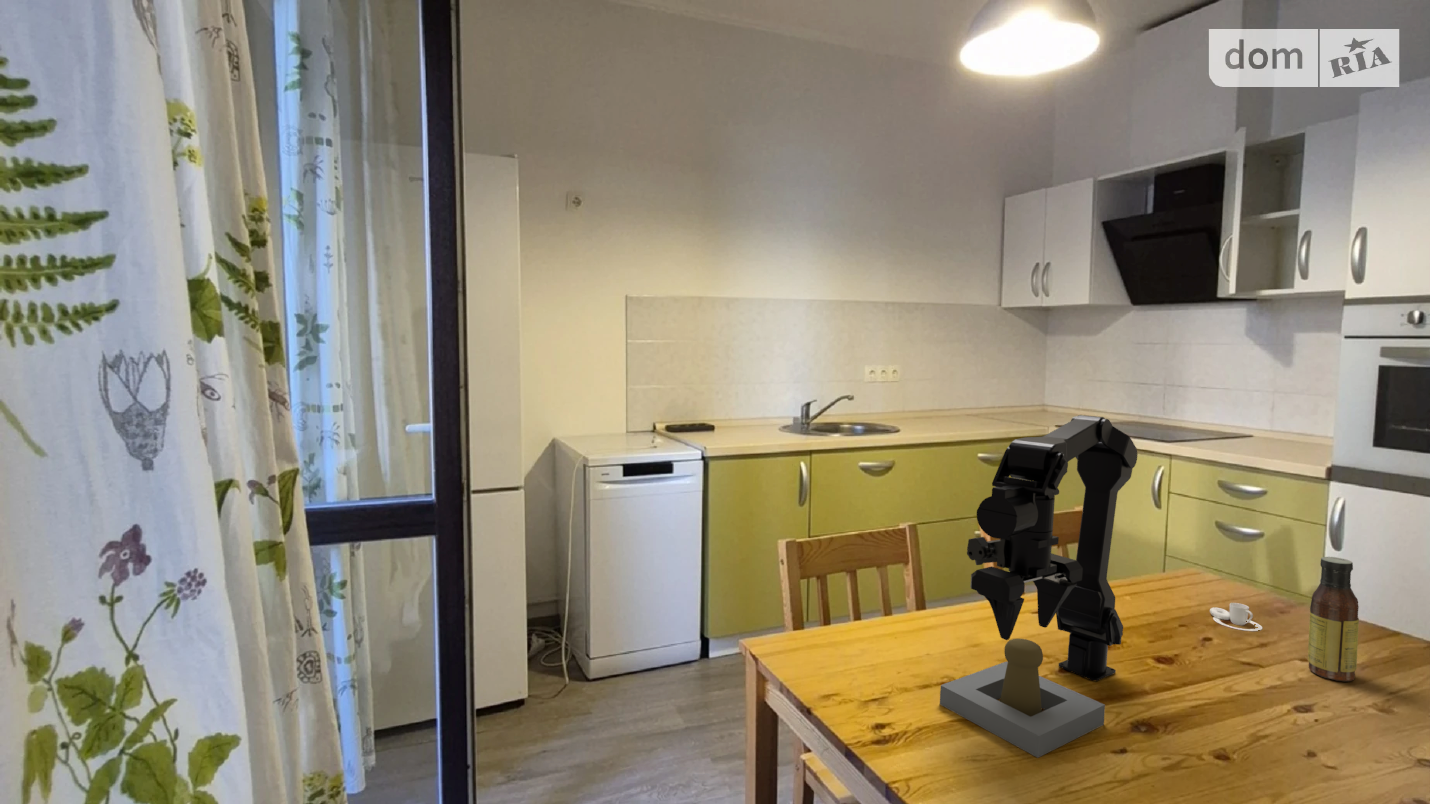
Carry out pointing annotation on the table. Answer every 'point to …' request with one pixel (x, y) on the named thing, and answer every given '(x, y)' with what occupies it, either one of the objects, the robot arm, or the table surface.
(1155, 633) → the table surface
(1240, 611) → the teacup and saucer
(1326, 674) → the sauce bottle
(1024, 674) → the brown pawn
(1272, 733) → the table surface
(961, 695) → the socket plate
